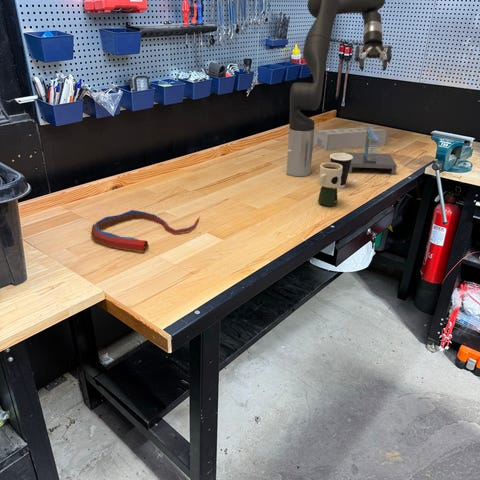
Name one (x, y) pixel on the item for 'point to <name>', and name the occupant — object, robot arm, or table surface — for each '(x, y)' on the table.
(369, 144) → the label tape box
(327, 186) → the character mug
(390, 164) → the brushed metal plate
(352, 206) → the table surface
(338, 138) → the warehouse
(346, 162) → the dixie cup
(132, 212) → the red curved tail
